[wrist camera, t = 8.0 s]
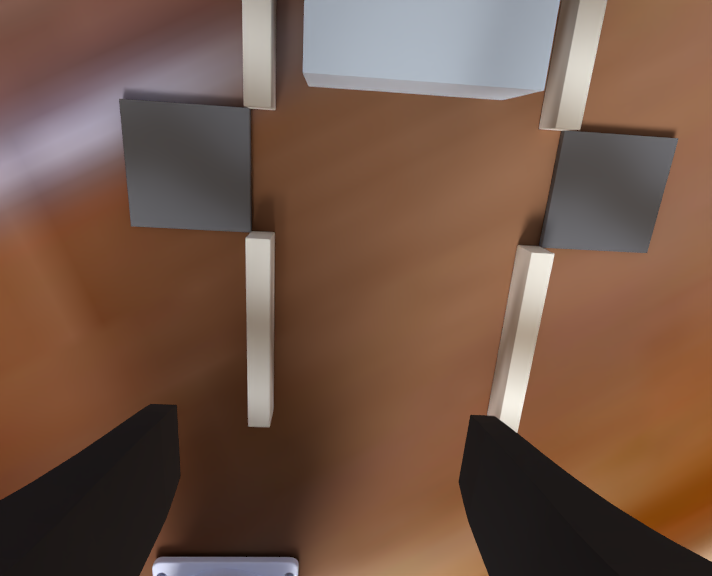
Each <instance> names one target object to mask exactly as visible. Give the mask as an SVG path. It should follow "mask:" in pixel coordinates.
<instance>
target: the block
mask: <svg viewBox="0 0 712 576" xmlns="http://www.w3.org/2000/svg"><path fill="white" fill-rule="evenodd" d="M559 3H560V0H304V35H303V74H304V77H305V79H306V82H307V84H308V86H312V87H326V88H339V89H353V90H367V91H381V92H395V93H409V94H423V95H437V96H451V97H465V98H479V99H493V100H506V99H510V98H514V97H518V96H523V95H527V94H531V93H535V92H540V91H544V88H545V82H546V77H547V71H548V65H549V60H550V54H551V48H552V43H553V37H554V31H555V26H556V20H557V14H558V9H559Z"/></svg>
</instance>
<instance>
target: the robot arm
mask: <svg viewBox="0 0 712 576" xmlns="http://www.w3.org/2000/svg"><path fill="white" fill-rule="evenodd" d="M180 476H181V475H180V457H179V439H178V421H177V405H162V404H150V405H148V406H147V407H145V408H144V409H142V410H140V411H139V412H137V413H136V414H135V415H133V416H132V417H130V418H129V419H127V420H126V421H124V422H123V423H122V424H120V425H119V426H117V427H116V428H114V429H113V430H112V431H110V432H109V433H107V434H106V435H104V436H103V437H101V438H100V439H98V440H97V441H95V442H94V443H93V444H91V445H90V446H88V447H87V448H85V449H84V450H82V451H81V452H79V453H78V454H76V455H75V456H73V457H71V458H70V459H68V460H67V461H65V462H63V463H62V464H60V465H59V466H57V467H56V468H54V469H52V470H51V471H49V472H48V473H46V474H44V475H43V476H41V477H40V478H38V479H36V480H35V481H33V482H32V483H30V484H28V485H26V486H25V487H23V488H21V489H20V490H18V491H16V492H14V493H12V494H11V495H9V496H7V497H5V498H4V499H2V500H0V576H139V575H140V573H141V571H142V569H143V567H144V565H145V562H146V560H147V558H148V556H149V554H150V552H151V550H152V548H153V546H154V543H155V541H156V539H157V537H158V535H159V533H160V531H161V529H162V526H163V524H164V522H165V520H166V518H167V515H168V512H169V509H170V506H171V503H172V501H173V498H174V495H175V491H176V488H177V485H178V482H179V479H180ZM459 486H460V490H461V494H462V498H463V503H464V507H465V510H466V514H467V518H468V522H469V524H470V527H471V530H472V533H473V535H474V538H475V540H476V543H477V546H478V548H479V551H480V554H481V556H482V559H483V561H484V564H485V566H486V569H487V571H488V574H489V576H712V562H711V561H709V560H707V559H705V558H703V557H701V556H700V555H698V554H696V553H694V552H692V551H690V550H688V549H687V548H685V547H683V546H681V545H679V544H677V543H675V542H673V541H672V540H670V539H668V538H666V537H665V536H663V535H661V534H660V533H658V532H656V531H654V530H653V529H651V528H649V527H648V526H646V525H644V524H643V523H641V522H640V521H638V520H636V519H635V518H633V517H632V516H630V515H628V514H627V513H625V512H623V511H622V510H620V509H619V508H617V507H616V506H614V505H613V504H611V503H610V502H608V501H607V500H605V499H604V498H602V497H601V496H599V495H598V494H596V493H595V492H594V491H592V490H591V489H589V488H588V487H587V486H585V485H584V484H582V483H581V482H579V481H578V480H577V479H575V478H574V477H573V476H571V475H570V474H569V473H567V472H566V471H565V470H563V469H562V468H561V467H559V466H558V465H557V464H555V463H554V462H553V461H552V460H550V459H549V458H548V457H546V456H545V455H544V454H543V453H541V452H540V451H539V450H538V449H536V448H535V447H534V446H533V445H531V444H530V443H529V442H528V441H526V440H525V439H524V438H523V437H521V436H520V435H519V434H518V433H516V432H515V431H514V430H513V429H511V428H510V427H509V426H507V425H506V424H505V423H504V422H502V421H501V420H499V419H498V418H497V417H495V416H485V415H470V420H469V426H468V432H467V437H466V443H465V449H464V454H463V460H462V466H461V471H460V477H459ZM298 568H299V563H298V561H297V559H295V558H293V557H159V558H157V559H156V560H155V562H154V564H153V567H152V571H153V576H298Z"/></svg>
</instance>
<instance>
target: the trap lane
mask: <svg viewBox="0 0 712 576" xmlns="http://www.w3.org/2000/svg"><path fill="white" fill-rule="evenodd" d="M606 4H607V0H562V2H561V8H560V13H559V19H558V24H557V30H556V35H555V41H554V46H553V52H552V57H551V63H550V69H549V74H548V80H547V85H546V91H545V96H544V102H543V107H542V113H541V118H540V124H539V129H545V130H560V131H561V135H560V141H559V146H558V151H557V156H556V161H555V166H554V171H553V176H552V181H551V187H550V192H549V197H548V202H547V207H546V212H545V217H544V222H543V228H542V233H541V238H540V243H539V246H528V245H518V246H517V252H516V257H515V263H514V268H513V274H512V279H511V285H510V290H509V296H508V301H507V307H506V313H505V318H504V324H503V329H502V335H501V340H500V346H499V351H498V357H497V363H496V368H495V374H494V379H493V385H492V390H491V396H490V401H489V407H488V412H487V415H488V416H495V417H497V418H498V419H499V420H501V421H502V422H504V423H505V424H506V425H507V426H509V427H510V428H511V429H513V430H514V431H515V432H516V433H517V432H518V427H519V422H520V417H521V412H522V408H523V403H524V398H525V393H526V388H527V384H528V379H529V374H530V369H531V364H532V360H533V355H534V350H535V345H536V340H537V335H538V331H539V326H540V321H541V316H542V311H543V307H544V302H545V297H546V292H547V287H548V283H549V278H550V273H551V268H552V263H553V258H554V253H552V252H550V251H548V250H546V249H544V248H561V249H580V250H599V251H618V252H637V253H647V251H648V247H649V244H650V240H651V237H652V233H653V229H654V226H655V222H656V218H657V215H658V211H659V207H660V204H661V200H662V196H663V193H664V189H665V185H666V182H667V178H668V175H669V171H670V167H671V164H672V160H673V156H674V153H675V149H676V145H677V142H678V138H664V137H650V136H636V135H622V134H608V133H594V132H579V131H565V130H580V129H581V124H582V119H583V114H584V109H585V105H586V100H587V95H588V90H589V85H590V81H591V76H592V71H593V66H594V61H595V56H596V52H597V47H598V42H599V37H600V32H601V28H602V23H603V18H604V13H605V8H606ZM242 28H243V98H244V106H246V107H248V108H242V107H228V106H214V105H200V104H186V103H172V102H158V101H144V100H129V99H119V103H120V113H121V124H122V135H123V145H124V156H125V166H126V177H127V187H128V198H129V209H130V219H131V226H137V227H157V228H176V229H195V230H214V231H233V232H250V234H249V235H248V236H247V237H246V238H245V240H246V311H247V382H248V427H270V423H271V419H272V414H273V410H274V278H275V232H260V231H252V202H251V109H264V110H276V0H242Z"/></svg>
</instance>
